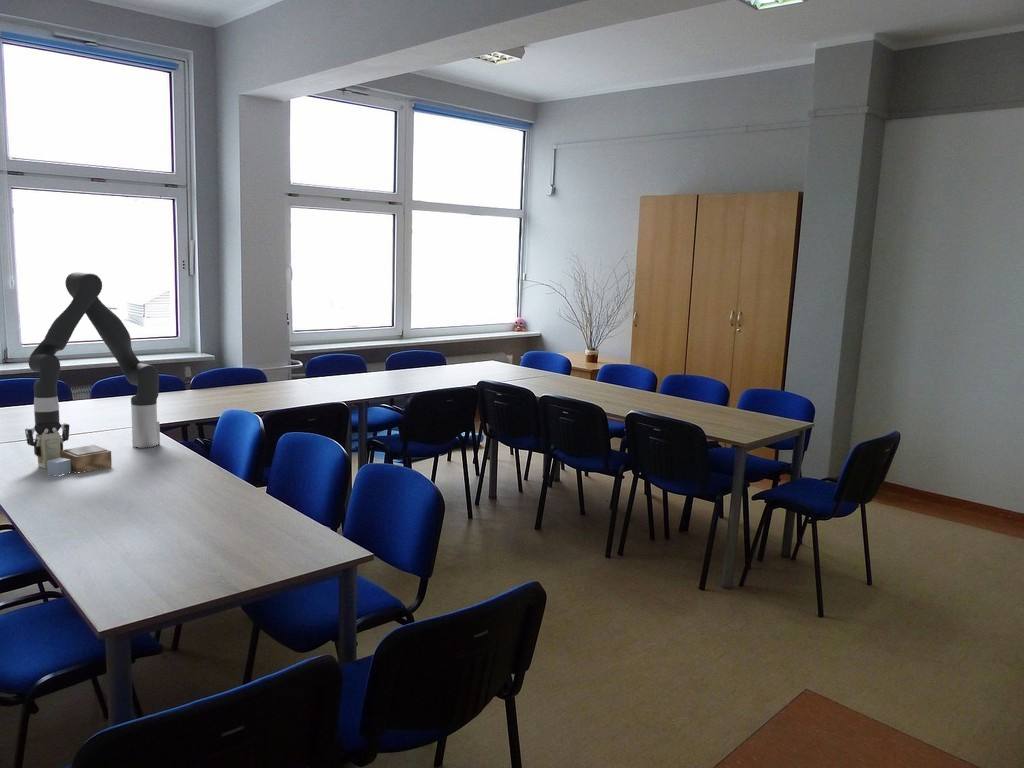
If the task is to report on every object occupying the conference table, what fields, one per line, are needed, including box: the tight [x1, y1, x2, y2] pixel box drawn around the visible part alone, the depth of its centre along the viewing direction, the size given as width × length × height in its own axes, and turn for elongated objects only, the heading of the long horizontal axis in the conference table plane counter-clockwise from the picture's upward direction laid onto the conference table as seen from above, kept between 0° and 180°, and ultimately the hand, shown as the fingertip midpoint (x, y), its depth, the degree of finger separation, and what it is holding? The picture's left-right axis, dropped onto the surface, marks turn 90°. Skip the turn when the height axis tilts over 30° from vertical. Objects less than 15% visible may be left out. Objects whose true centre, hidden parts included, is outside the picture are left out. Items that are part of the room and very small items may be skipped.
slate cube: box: [46, 458, 72, 477], centre depth 262 cm, size 5×5×5 cm
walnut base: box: [60, 444, 113, 474], centre depth 271 cm, size 12×12×6 cm
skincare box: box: [35, 431, 61, 469], centre depth 270 cm, size 6×4×12 cm
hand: (49, 454), depth 270 cm, fingers closed on skincare box, 6 cm apart
